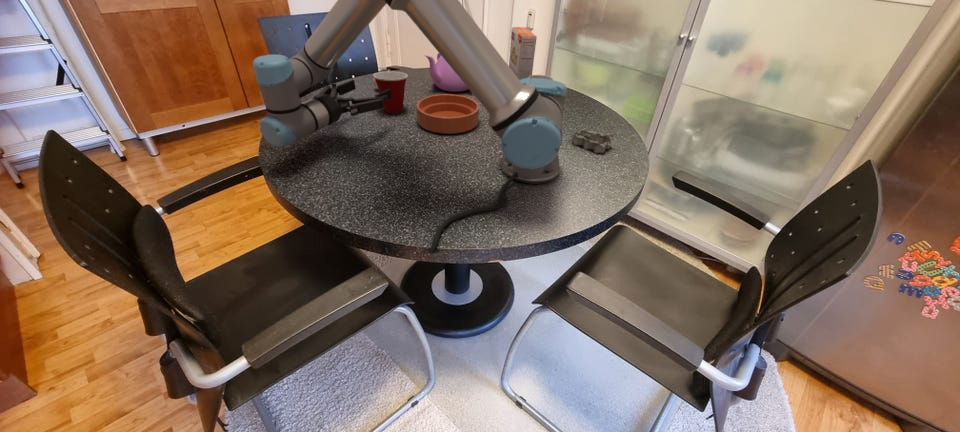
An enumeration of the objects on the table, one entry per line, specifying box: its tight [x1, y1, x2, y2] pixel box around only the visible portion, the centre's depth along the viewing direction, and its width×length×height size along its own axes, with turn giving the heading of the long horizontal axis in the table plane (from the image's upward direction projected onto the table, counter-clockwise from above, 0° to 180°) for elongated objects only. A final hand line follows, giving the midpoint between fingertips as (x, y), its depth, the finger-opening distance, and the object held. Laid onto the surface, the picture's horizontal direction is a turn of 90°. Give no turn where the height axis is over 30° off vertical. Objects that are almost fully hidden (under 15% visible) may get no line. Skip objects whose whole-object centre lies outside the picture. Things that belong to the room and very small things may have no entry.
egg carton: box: [571, 128, 615, 154], centre depth 109 cm, size 11×8×4 cm
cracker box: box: [508, 26, 538, 80], centre depth 140 cm, size 14×6×21 cm, turn 10°
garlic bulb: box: [372, 68, 391, 91], centre depth 136 cm, size 7×6×8 cm
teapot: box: [424, 52, 470, 93], centre depth 140 cm, size 22×22×14 cm
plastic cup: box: [372, 70, 409, 115], centre depth 121 cm, size 11×11×12 cm
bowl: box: [416, 93, 480, 135], centre depth 117 cm, size 19×19×6 cm
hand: (372, 88), depth 111 cm, fingers open, 13 cm apart
